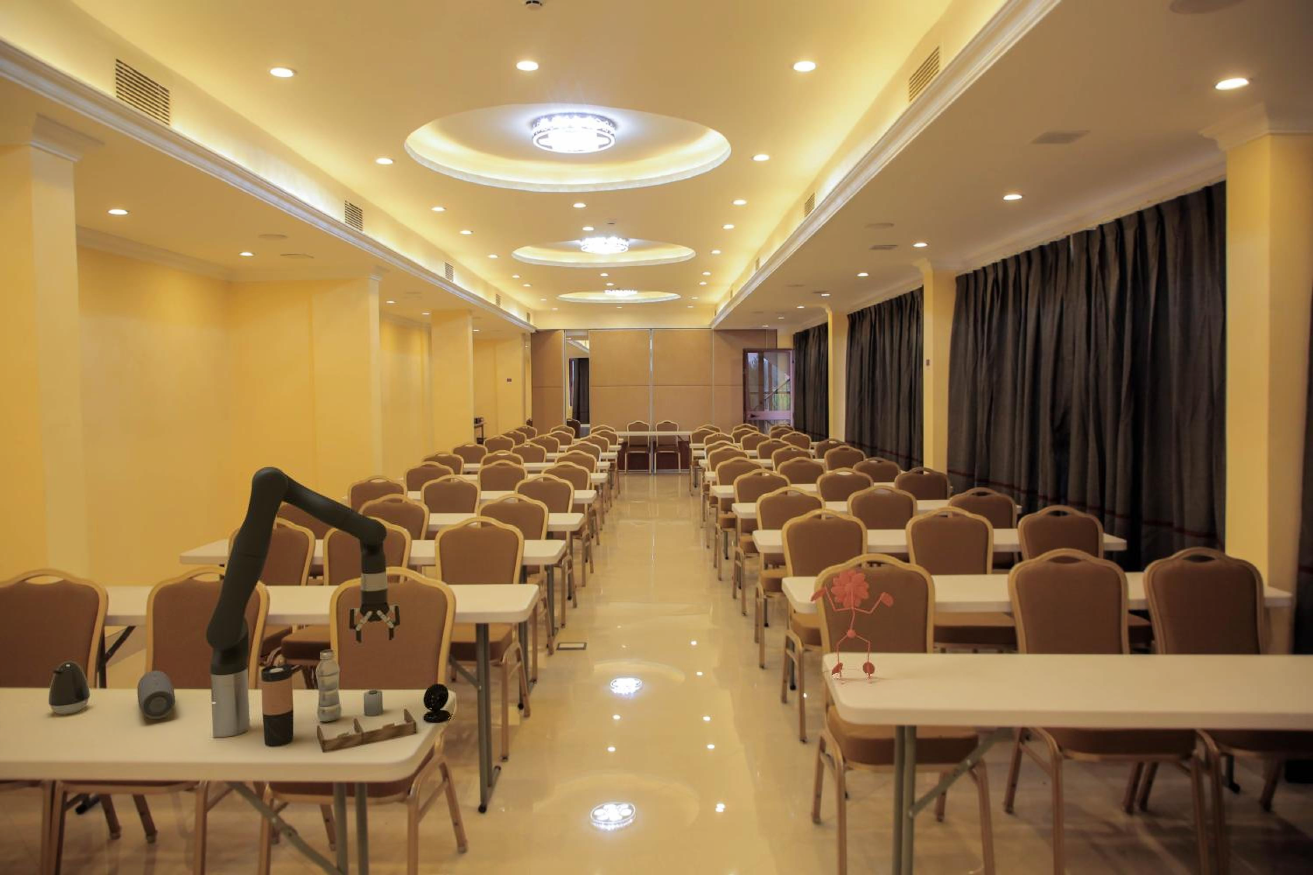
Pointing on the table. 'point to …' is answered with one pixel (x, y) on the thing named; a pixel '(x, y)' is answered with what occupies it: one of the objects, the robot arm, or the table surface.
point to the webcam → (436, 703)
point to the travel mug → (277, 705)
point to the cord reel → (373, 703)
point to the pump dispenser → (68, 689)
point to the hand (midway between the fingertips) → (375, 640)
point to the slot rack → (367, 734)
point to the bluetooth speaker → (155, 695)
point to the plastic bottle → (328, 687)
